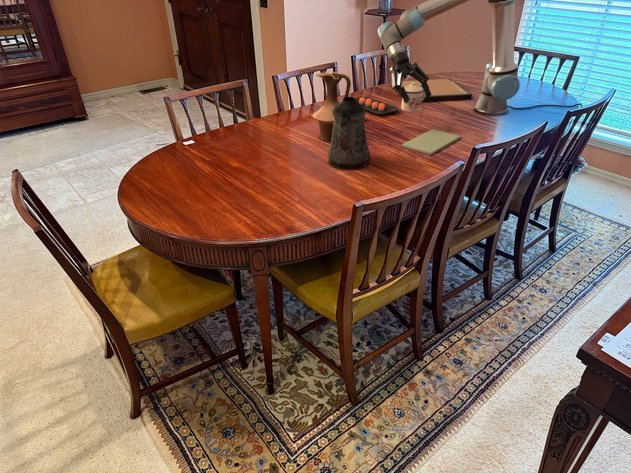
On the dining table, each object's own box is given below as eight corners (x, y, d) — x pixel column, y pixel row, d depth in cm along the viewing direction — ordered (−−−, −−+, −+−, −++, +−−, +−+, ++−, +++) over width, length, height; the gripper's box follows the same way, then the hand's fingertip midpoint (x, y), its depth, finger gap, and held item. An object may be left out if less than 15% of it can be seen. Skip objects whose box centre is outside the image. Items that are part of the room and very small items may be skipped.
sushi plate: (401, 112, 220) (402, 104, 218) (355, 125, 206) (355, 117, 204) (364, 99, 240) (364, 92, 238) (320, 110, 226) (320, 102, 224)
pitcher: (356, 132, 198) (358, 68, 182) (346, 146, 184) (347, 78, 169) (320, 129, 203) (318, 66, 187) (307, 142, 189) (305, 76, 174)
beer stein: (362, 151, 180) (364, 89, 166) (377, 170, 164) (381, 104, 150) (323, 155, 177) (322, 93, 163) (335, 175, 161) (335, 109, 147)
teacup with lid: (410, 113, 188) (412, 86, 182) (396, 108, 195) (398, 82, 188) (430, 108, 193) (433, 81, 187) (416, 103, 200) (419, 77, 193)
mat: (432, 131, 197) (432, 128, 196) (460, 138, 189) (460, 136, 188) (401, 146, 183) (401, 144, 182) (430, 155, 175) (430, 152, 174)
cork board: (391, 85, 261) (406, 103, 232) (392, 80, 260) (407, 97, 230) (449, 82, 263) (471, 99, 234) (449, 77, 262) (472, 94, 232)
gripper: (414, 57, 200) (434, 98, 198) (372, 65, 190) (392, 108, 188) (423, 47, 193) (444, 89, 191) (380, 54, 184) (401, 99, 181)
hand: (418, 98), depth 189 cm, fingers closed on teacup with lid, 12 cm apart
